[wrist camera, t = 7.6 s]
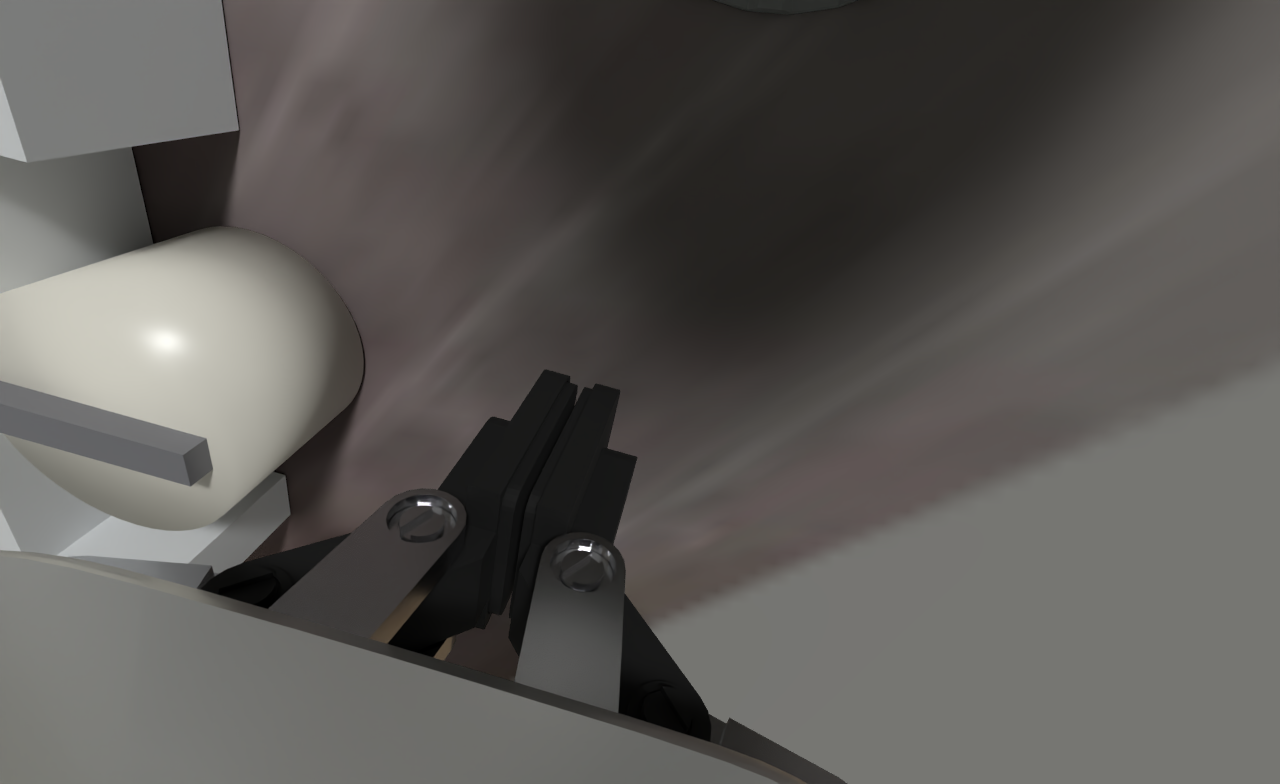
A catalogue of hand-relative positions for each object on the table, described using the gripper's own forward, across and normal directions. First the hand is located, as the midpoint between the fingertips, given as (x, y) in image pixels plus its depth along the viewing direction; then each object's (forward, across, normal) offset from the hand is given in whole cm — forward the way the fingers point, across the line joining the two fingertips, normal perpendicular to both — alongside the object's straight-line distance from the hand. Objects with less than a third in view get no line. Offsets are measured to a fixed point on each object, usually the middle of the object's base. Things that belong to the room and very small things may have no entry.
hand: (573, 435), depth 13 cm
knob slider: (+1, +8, 0) cm, 8 cm away
